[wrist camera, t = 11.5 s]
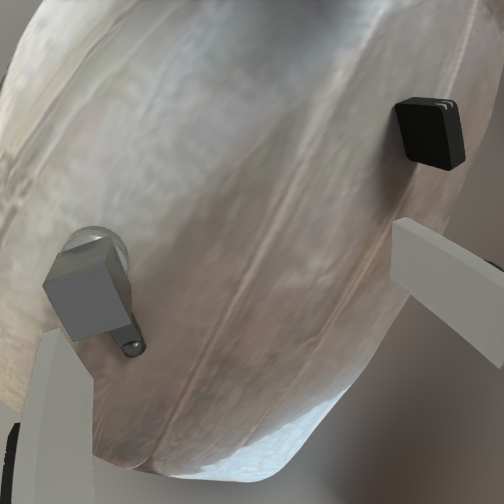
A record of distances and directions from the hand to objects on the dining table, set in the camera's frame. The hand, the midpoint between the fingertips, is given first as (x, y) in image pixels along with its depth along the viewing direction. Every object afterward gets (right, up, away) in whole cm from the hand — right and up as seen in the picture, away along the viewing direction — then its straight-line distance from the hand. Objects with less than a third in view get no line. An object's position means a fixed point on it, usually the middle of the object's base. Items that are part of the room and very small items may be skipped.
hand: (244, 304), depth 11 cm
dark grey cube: (-18, 0, +24) cm, 30 cm away
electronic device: (+26, +22, +35) cm, 49 cm away
